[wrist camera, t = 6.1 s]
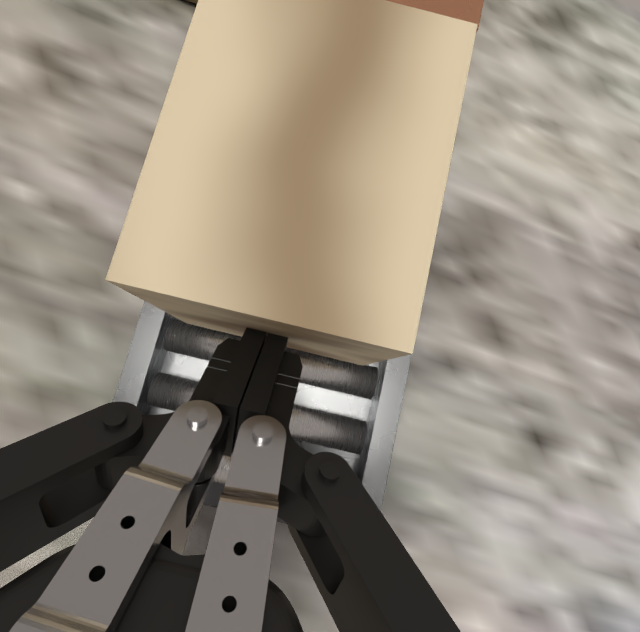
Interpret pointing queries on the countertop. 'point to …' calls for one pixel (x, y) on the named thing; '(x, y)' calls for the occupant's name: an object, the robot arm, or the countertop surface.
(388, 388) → the roller track
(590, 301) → the countertop surface
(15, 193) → the countertop surface
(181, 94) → the birch slab
